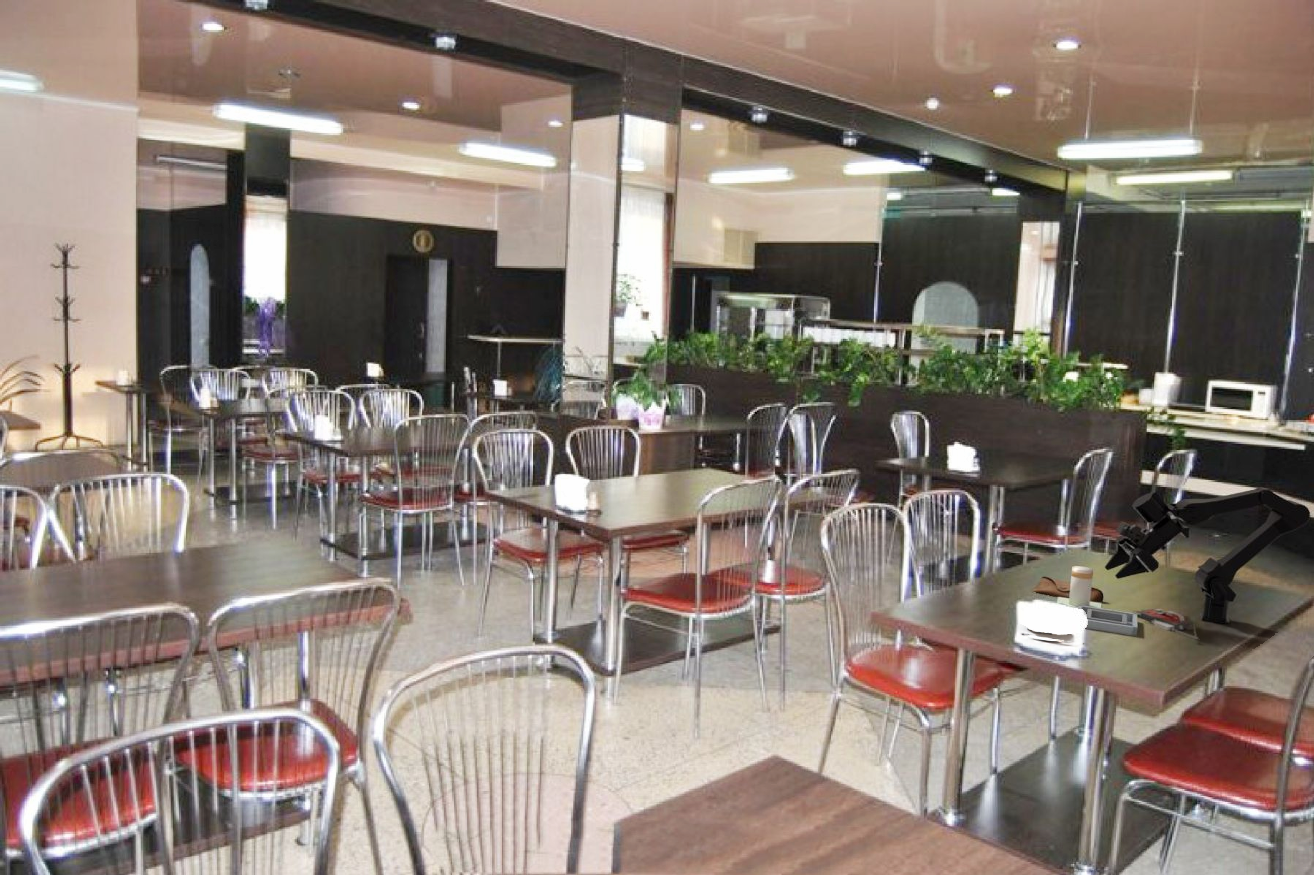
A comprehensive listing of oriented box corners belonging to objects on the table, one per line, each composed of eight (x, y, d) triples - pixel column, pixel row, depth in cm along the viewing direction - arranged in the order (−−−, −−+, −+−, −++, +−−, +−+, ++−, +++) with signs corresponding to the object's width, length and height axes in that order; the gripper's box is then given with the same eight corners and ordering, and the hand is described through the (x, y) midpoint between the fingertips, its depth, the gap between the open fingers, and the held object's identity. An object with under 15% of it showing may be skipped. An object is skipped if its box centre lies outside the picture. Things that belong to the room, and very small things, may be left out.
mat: (1058, 600, 278) (1058, 596, 278) (1101, 606, 273) (1101, 603, 273) (1055, 610, 268) (1055, 606, 268) (1100, 617, 263) (1100, 613, 263)
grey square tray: (1077, 616, 263) (1078, 604, 263) (1135, 625, 257) (1137, 613, 257) (1074, 630, 251) (1075, 618, 250) (1136, 640, 245) (1137, 628, 244)
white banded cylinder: (1075, 601, 274) (1078, 565, 273) (1093, 606, 270) (1097, 569, 269) (1064, 603, 271) (1068, 567, 270) (1083, 608, 267) (1086, 572, 265)
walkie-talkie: (1127, 621, 262) (1195, 646, 244) (1129, 605, 261) (1197, 628, 243) (1152, 618, 265) (1220, 642, 247) (1154, 602, 265) (1222, 625, 246)
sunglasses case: (1028, 591, 285) (1035, 570, 287) (1035, 600, 290) (1042, 578, 292) (1091, 606, 273) (1098, 584, 275) (1099, 615, 278) (1105, 593, 279)
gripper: (1127, 506, 275) (1081, 543, 277) (1150, 519, 256) (1100, 558, 259) (1154, 536, 274) (1108, 572, 277) (1179, 552, 256) (1130, 590, 259)
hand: (1111, 573), depth 268 cm, fingers open, 9 cm apart
